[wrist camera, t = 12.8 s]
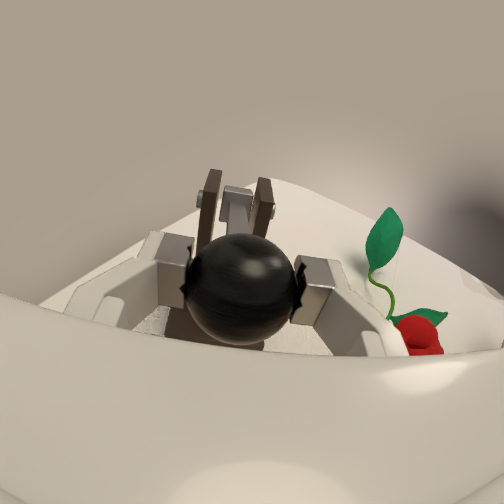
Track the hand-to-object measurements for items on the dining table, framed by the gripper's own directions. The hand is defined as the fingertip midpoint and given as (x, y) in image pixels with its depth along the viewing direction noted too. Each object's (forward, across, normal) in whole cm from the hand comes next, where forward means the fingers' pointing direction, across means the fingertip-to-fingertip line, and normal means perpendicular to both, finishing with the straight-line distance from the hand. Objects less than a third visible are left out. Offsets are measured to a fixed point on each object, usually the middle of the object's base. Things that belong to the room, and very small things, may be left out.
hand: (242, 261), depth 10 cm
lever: (+5, 0, +4) cm, 6 cm away
